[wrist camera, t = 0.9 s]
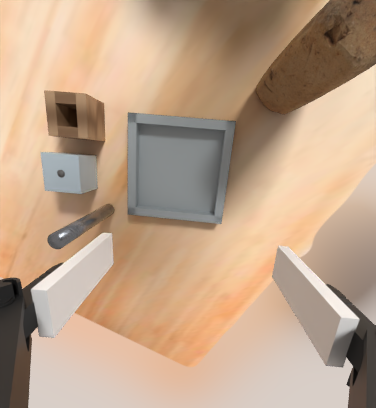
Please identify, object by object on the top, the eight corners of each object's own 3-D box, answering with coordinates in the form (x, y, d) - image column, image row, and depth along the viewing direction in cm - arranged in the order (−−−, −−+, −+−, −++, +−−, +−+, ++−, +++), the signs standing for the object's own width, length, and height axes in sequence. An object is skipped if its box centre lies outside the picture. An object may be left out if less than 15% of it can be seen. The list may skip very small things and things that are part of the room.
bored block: (69, 100, 36) (44, 90, 31) (104, 103, 36) (85, 93, 30) (71, 138, 38) (48, 135, 32) (105, 141, 38) (88, 138, 32)
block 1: (64, 152, 39) (40, 152, 33) (96, 155, 39) (78, 155, 33) (66, 185, 41) (44, 190, 35) (97, 188, 41) (80, 194, 35)
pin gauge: (103, 203, 41) (46, 232, 26) (114, 204, 41) (63, 234, 26) (104, 213, 42) (48, 248, 27) (114, 214, 42) (64, 250, 27)
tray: (132, 115, 36) (127, 112, 34) (233, 123, 36) (235, 121, 33) (131, 210, 41) (127, 214, 39) (220, 219, 41) (221, 223, 38)
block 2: (272, 123, 35) (361, 84, 16) (247, 91, 34) (309, 8, 15) (323, 77, 33) (500, -33, 14) (298, 41, 32) (451, -135, 12)
